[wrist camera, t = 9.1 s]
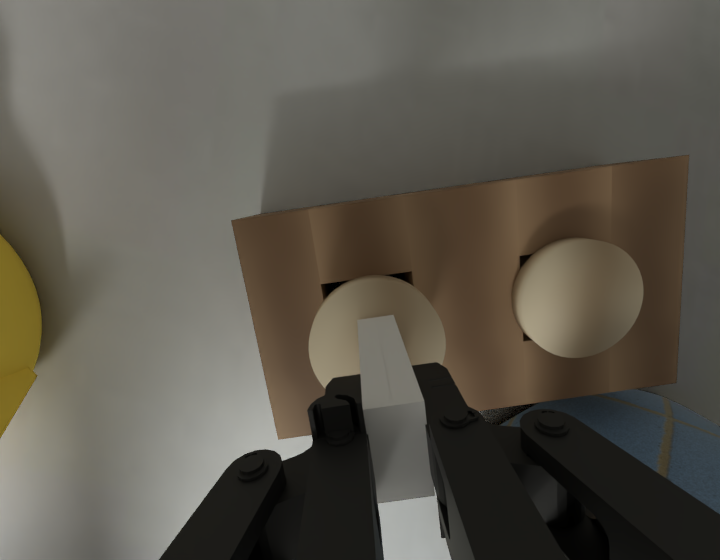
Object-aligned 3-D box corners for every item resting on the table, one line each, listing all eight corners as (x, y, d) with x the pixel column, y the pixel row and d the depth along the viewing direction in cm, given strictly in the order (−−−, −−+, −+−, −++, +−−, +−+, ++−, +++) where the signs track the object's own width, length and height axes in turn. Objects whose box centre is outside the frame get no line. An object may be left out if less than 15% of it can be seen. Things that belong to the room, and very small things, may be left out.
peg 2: (476, 318, 26) (524, 365, 18) (469, 233, 24) (519, 249, 17) (560, 306, 26) (641, 348, 18) (558, 220, 24) (645, 231, 17)
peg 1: (328, 351, 24) (320, 418, 17) (313, 261, 22) (297, 292, 15) (420, 338, 24) (451, 399, 17) (410, 247, 22) (439, 272, 15)
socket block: (293, 385, 26) (278, 439, 21) (260, 214, 24) (231, 220, 18) (603, 341, 26) (676, 382, 21) (605, 164, 24) (689, 154, 18)
